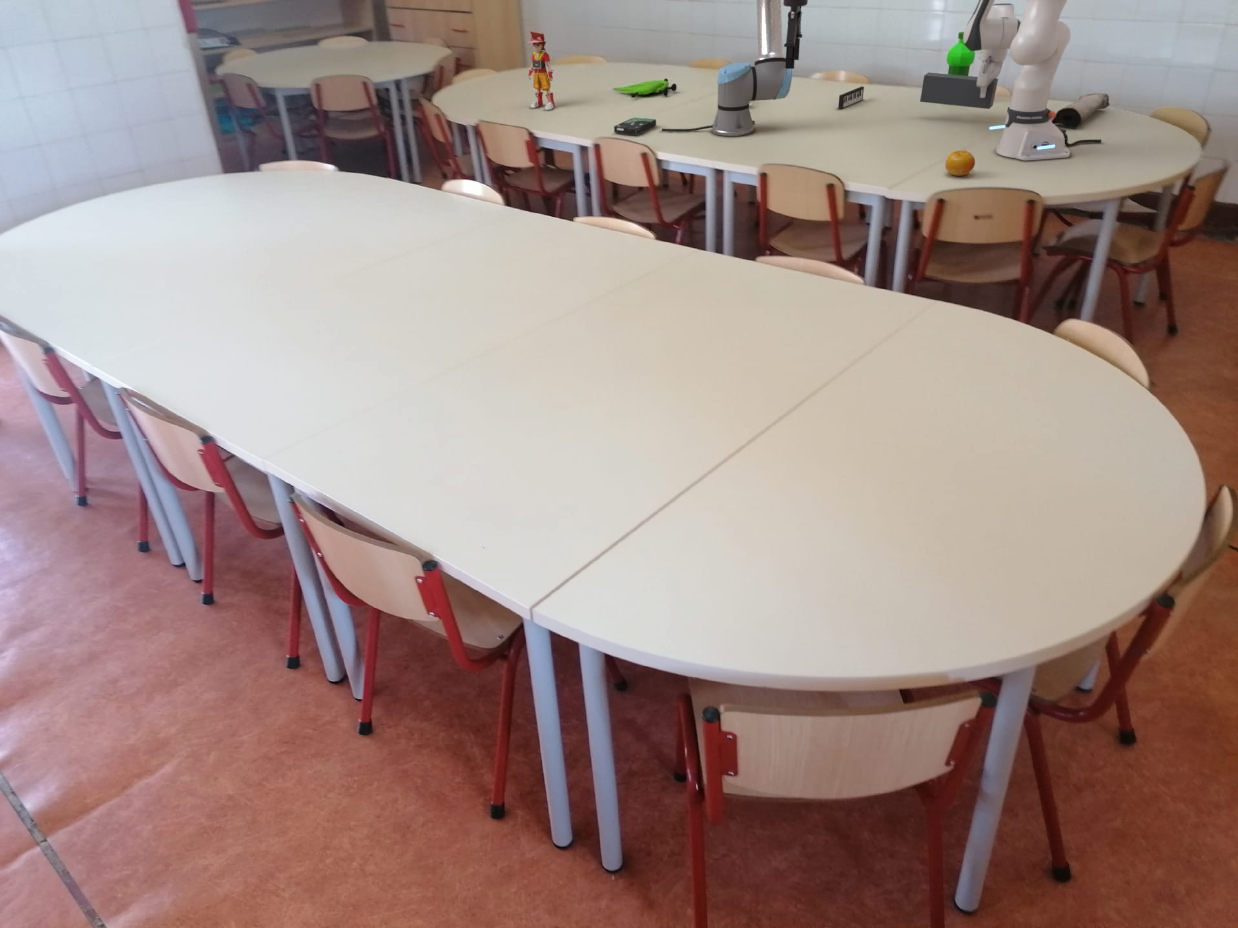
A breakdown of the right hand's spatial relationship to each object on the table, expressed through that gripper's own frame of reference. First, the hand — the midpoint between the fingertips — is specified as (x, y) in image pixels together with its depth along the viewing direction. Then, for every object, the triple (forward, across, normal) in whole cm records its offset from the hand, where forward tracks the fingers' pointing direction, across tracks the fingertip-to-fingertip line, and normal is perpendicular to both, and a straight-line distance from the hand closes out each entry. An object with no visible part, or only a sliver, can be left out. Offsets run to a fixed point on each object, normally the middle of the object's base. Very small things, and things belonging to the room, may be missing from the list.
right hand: (985, 95), depth 323 cm
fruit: (+9, -63, -8) cm, 65 cm away
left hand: (-18, -62, +50) cm, 82 cm away
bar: (+4, 0, +10) cm, 10 cm away
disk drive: (+12, -53, +116) cm, 128 cm away
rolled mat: (+9, +17, -31) cm, 37 cm away
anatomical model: (+12, -5, +96) cm, 96 cm away
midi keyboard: (+11, +11, +53) cm, 55 cm away
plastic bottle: (+10, +27, +16) cm, 33 cm away
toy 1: (+13, -36, +172) cm, 176 cm away
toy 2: (+13, +2, +146) cm, 146 cm away
